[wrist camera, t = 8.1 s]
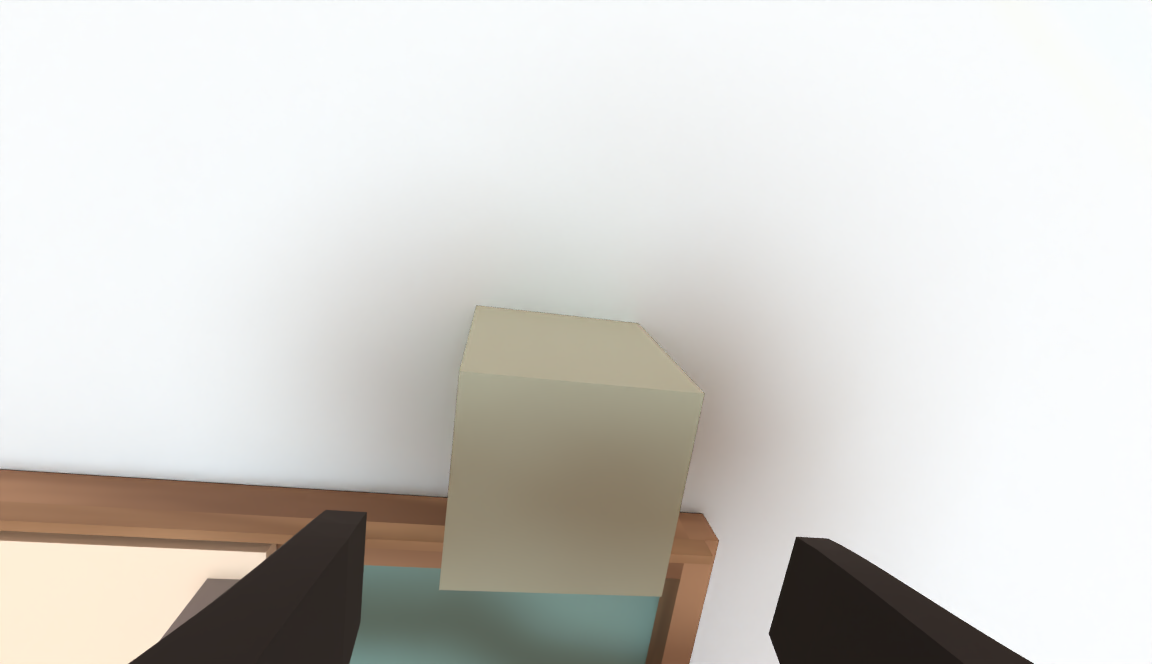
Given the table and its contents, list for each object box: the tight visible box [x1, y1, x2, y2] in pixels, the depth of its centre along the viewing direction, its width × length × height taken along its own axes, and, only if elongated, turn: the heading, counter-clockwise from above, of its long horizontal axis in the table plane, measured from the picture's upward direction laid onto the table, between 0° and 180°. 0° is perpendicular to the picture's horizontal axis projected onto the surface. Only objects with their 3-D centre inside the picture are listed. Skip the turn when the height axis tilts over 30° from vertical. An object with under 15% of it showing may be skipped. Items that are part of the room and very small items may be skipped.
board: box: [0, 470, 719, 664], centre depth 17 cm, size 11×27×2 cm, turn 82°
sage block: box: [439, 305, 704, 597], centre depth 14 cm, size 5×5×6 cm
